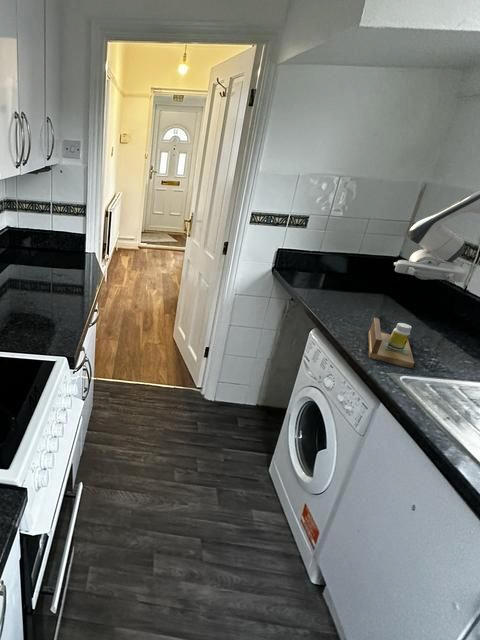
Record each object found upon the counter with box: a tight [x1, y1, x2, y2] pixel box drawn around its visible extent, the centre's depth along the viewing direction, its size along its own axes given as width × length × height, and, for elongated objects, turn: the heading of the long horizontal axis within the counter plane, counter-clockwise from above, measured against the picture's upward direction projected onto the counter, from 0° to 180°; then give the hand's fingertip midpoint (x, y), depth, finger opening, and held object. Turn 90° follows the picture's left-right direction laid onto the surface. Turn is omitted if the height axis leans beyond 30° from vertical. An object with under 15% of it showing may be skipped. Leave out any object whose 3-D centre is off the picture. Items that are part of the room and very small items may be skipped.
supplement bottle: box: [387, 322, 412, 351], centre depth 138 cm, size 5×5×8 cm
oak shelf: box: [367, 317, 415, 369], centre depth 142 cm, size 12×22×7 cm, turn 150°
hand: (431, 275), depth 144 cm, fingers open, 8 cm apart
